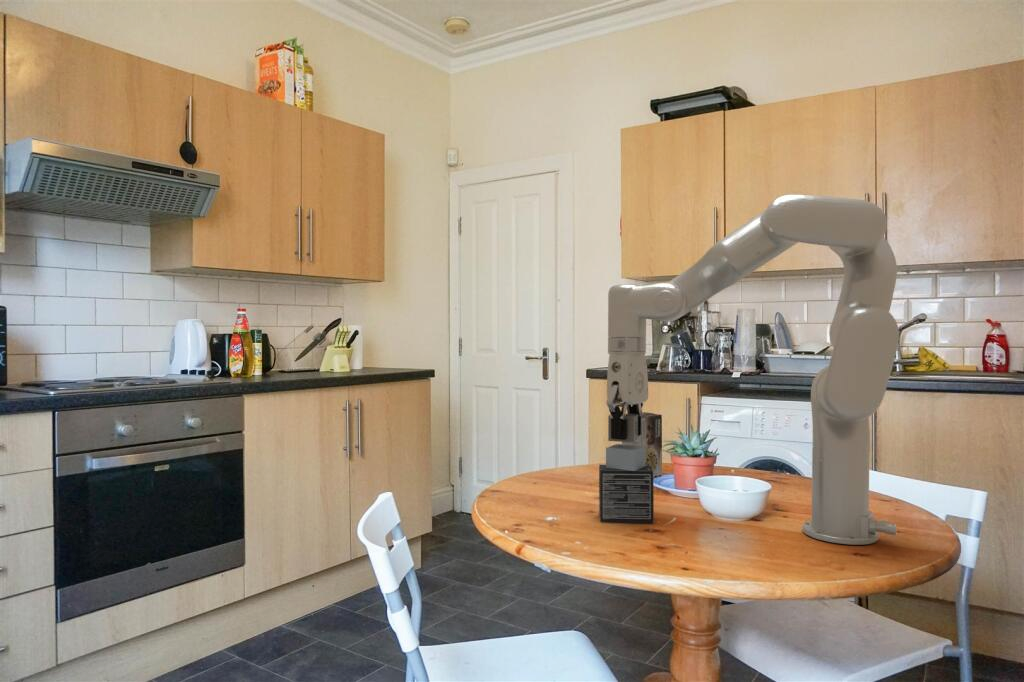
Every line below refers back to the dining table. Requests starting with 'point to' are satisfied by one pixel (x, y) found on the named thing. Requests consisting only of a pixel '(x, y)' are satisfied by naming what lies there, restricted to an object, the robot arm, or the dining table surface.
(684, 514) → the dining table surface
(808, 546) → the dining table surface
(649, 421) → the coffee box
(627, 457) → the slate block
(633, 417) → the brown grey cube
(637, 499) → the small box
